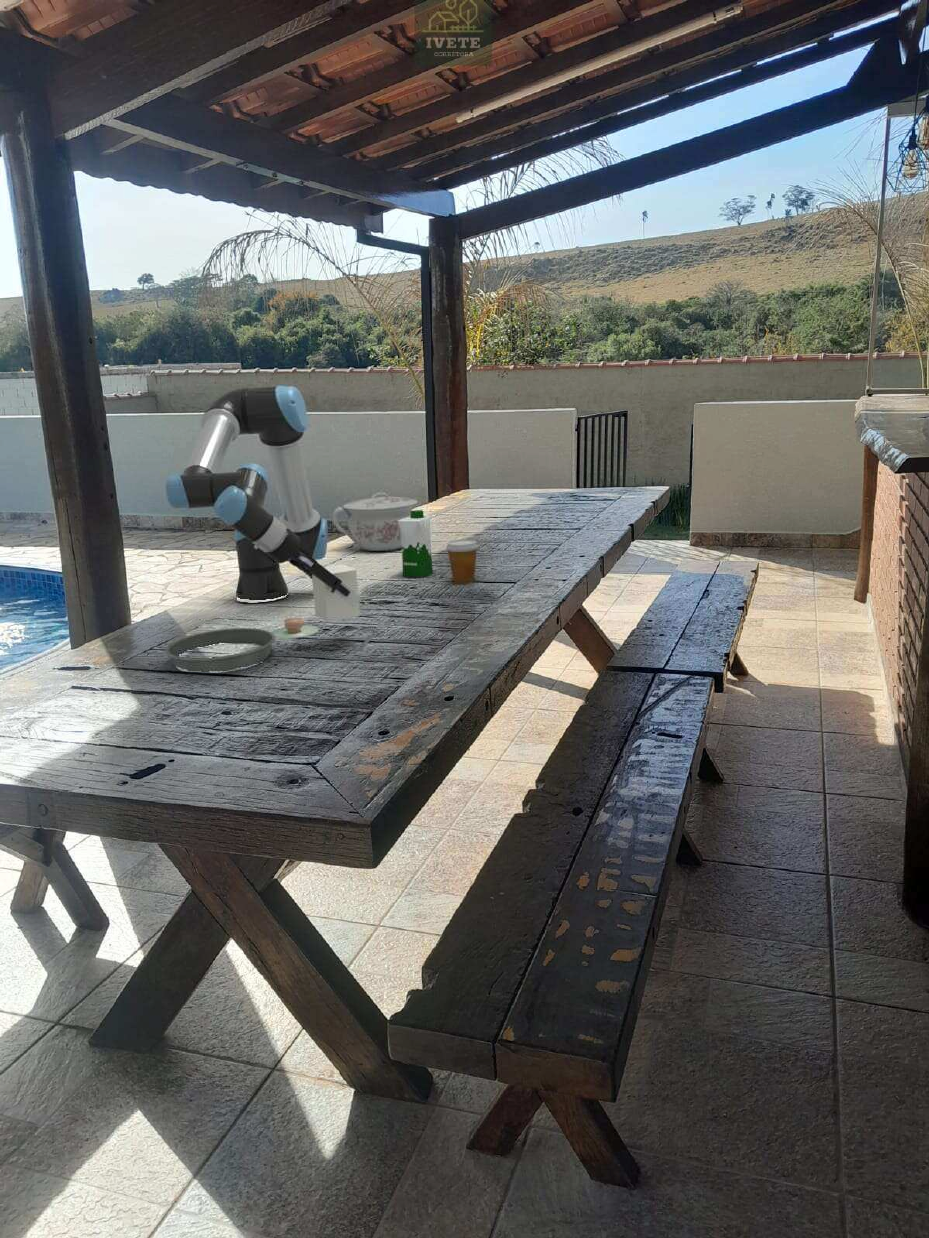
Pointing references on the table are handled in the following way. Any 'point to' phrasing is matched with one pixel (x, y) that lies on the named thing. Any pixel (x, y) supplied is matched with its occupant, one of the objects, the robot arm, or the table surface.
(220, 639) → the hoop
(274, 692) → the table surface
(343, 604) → the white upright block
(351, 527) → the chamber pot
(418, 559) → the milk carton
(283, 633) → the plate
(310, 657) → the table surface
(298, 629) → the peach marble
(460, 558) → the disposable coffee cup
